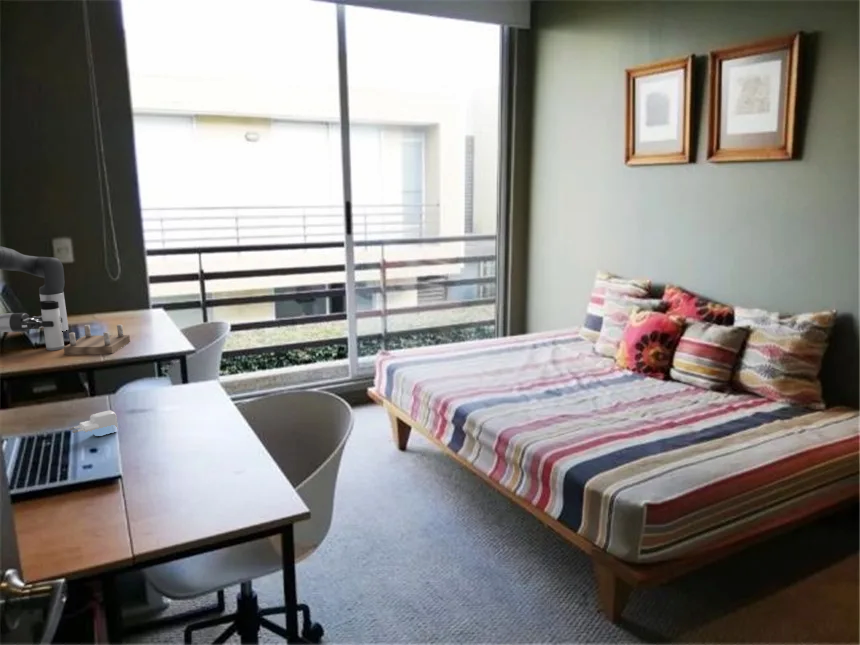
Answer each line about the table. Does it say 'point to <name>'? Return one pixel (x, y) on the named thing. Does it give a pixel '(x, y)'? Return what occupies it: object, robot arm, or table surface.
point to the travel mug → (53, 333)
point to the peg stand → (96, 342)
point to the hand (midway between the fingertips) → (57, 322)
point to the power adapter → (97, 422)
